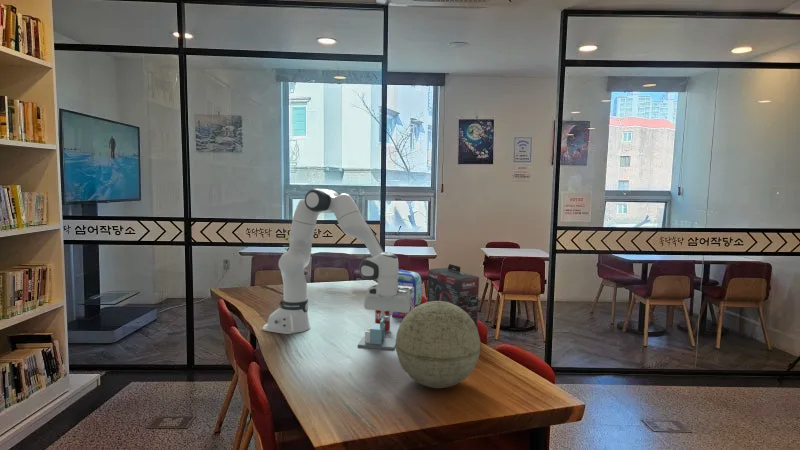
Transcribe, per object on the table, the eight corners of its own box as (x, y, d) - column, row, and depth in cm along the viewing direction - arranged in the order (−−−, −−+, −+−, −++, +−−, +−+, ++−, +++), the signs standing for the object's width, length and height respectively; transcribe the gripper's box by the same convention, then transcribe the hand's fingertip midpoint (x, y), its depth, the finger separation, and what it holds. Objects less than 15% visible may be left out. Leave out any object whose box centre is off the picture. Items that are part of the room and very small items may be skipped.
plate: (357, 347, 200) (357, 335, 199) (363, 338, 211) (363, 327, 210) (393, 350, 197) (393, 338, 197) (398, 341, 208) (398, 330, 208)
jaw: (364, 342, 202) (365, 331, 202) (367, 338, 207) (367, 328, 207) (375, 343, 201) (376, 332, 201) (378, 339, 206) (378, 328, 206)
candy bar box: (414, 316, 247) (414, 286, 245) (410, 319, 242) (411, 288, 241) (395, 314, 251) (395, 284, 249) (391, 316, 246) (391, 286, 245)
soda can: (388, 333, 219) (388, 308, 217) (373, 332, 220) (373, 307, 219) (391, 328, 226) (391, 304, 225) (377, 327, 227) (377, 303, 226)
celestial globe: (417, 411, 145) (419, 318, 142) (382, 374, 172) (383, 295, 170) (496, 395, 157) (499, 309, 154) (452, 362, 184) (454, 289, 182)
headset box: (478, 338, 213) (480, 268, 210) (457, 343, 207) (459, 271, 204) (445, 324, 234) (447, 260, 231) (425, 328, 227) (427, 262, 224)
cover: (369, 343, 200) (370, 322, 199) (373, 337, 208) (374, 316, 207) (381, 344, 199) (381, 323, 198) (384, 338, 207) (385, 317, 207)
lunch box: (375, 303, 272) (376, 268, 270) (385, 299, 281) (386, 265, 280) (413, 310, 259) (414, 273, 257) (422, 306, 268) (423, 270, 266)
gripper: (412, 289, 202) (411, 320, 203) (367, 286, 206) (366, 316, 207) (410, 293, 196) (409, 324, 197) (363, 289, 199) (362, 320, 201)
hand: (386, 320), depth 202 cm, fingers closed
